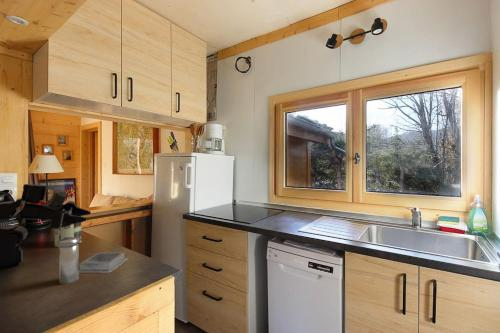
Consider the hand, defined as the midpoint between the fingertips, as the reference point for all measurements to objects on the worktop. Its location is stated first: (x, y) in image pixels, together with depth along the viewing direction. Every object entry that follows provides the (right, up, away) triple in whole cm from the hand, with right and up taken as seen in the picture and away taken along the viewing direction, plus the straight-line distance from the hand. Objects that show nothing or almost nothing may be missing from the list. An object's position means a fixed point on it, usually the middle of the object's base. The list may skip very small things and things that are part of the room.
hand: (88, 215), depth 101 cm
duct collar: (+13, -16, -11) cm, 23 cm away
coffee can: (-18, -16, +14) cm, 28 cm away
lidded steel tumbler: (+9, -16, -22) cm, 29 cm away
